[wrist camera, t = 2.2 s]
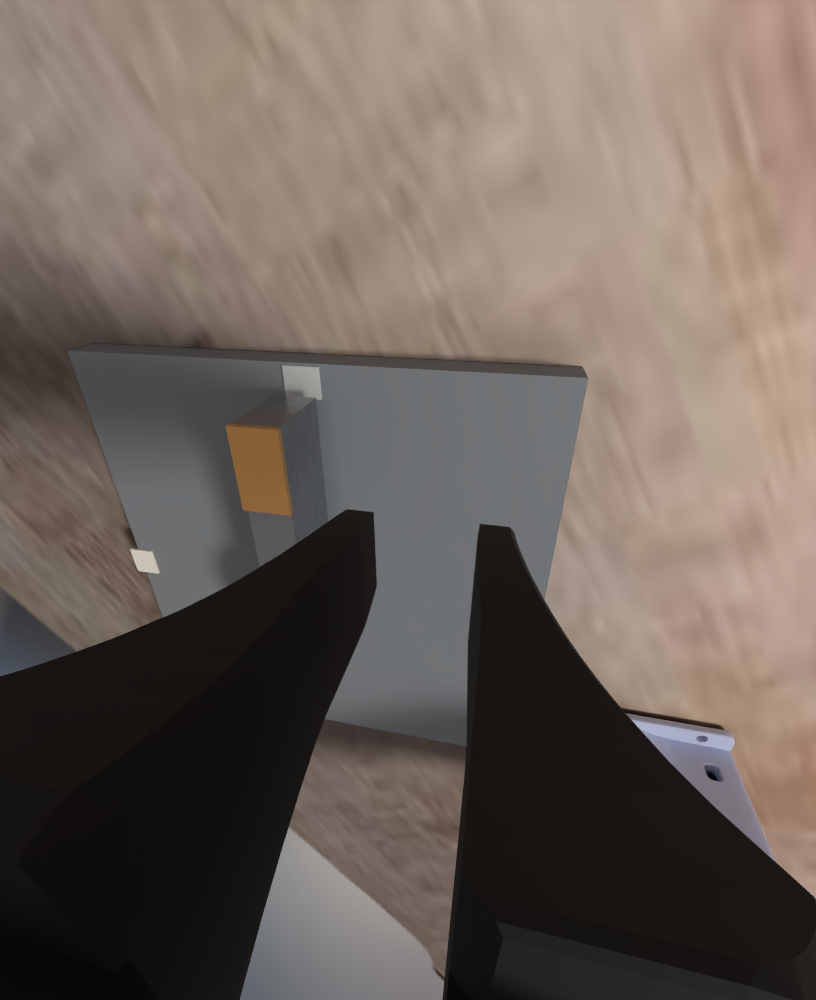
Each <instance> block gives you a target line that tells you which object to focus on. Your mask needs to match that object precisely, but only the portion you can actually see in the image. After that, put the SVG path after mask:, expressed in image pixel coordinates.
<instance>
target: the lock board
mask: <svg viewBox="0 0 816 1000" xmlns="http://www.w3.org/2000/svg"><path fill="white" fill-rule="evenodd" d="M67 353H68V355H69V358H70V361H71V364H72V367H73V369H74V372H75V375H76V378H77V380H78V383H79V386H80V389H81V391H82V394H83V397H84V400H85V403H86V405H87V408H88V411H89V414H90V416H91V419H92V422H93V425H94V428H95V430H96V433H97V436H98V439H99V441H100V444H101V447H102V450H103V452H104V455H105V458H106V461H107V464H108V466H109V469H110V472H111V475H112V477H113V480H114V483H115V486H116V488H117V491H118V494H119V497H120V500H121V502H122V505H123V508H124V511H125V513H126V516H127V519H128V522H129V524H130V527H131V530H132V533H133V536H134V538H135V541H136V544H137V547H138V549H136V548H131V549H130V550H131V553H132V556H133V558H134V561H135V564H136V566H137V569H138V571H143V572H147V574H148V577H149V580H150V583H151V585H152V588H153V591H154V594H155V597H156V599H157V602H158V605H159V608H160V610H161V613H162V616H163V617H165V616H168V615H170V614H172V613H175V612H177V611H179V610H181V609H183V608H185V607H187V606H189V605H191V604H193V603H195V602H197V601H199V600H202V599H204V598H206V597H208V596H210V595H212V594H214V593H215V592H217V591H219V590H221V589H223V588H225V587H227V586H228V585H230V584H232V583H234V582H236V581H237V580H239V579H241V578H242V577H244V576H246V575H247V574H249V573H251V572H252V571H254V570H256V569H257V568H259V562H258V557H257V552H256V547H255V542H254V538H253V533H252V528H251V523H250V518H249V513H248V511H245V510H243V508H242V503H241V498H240V493H239V489H238V484H237V479H236V474H235V469H234V465H233V460H232V455H231V450H230V446H229V441H228V436H227V431H226V425H228V424H231V423H232V422H234V421H235V420H237V419H238V418H240V417H242V416H243V415H245V414H246V413H248V412H249V411H251V410H252V409H254V408H255V407H257V406H258V405H260V404H261V403H263V402H264V401H266V400H267V399H269V398H270V397H272V396H273V395H281V396H296V397H312V398H316V405H317V415H318V425H319V434H320V444H321V454H322V464H323V474H324V484H325V493H326V503H327V513H328V521H330V520H331V519H333V518H334V517H335V516H337V515H338V514H340V513H342V512H343V511H345V510H346V509H350V510H359V511H368V512H374V529H375V552H376V576H377V587H376V591H375V594H374V598H373V602H372V605H371V609H370V612H369V615H368V618H367V622H366V625H365V628H364V630H363V632H362V635H361V637H360V639H359V642H358V644H357V646H356V649H355V651H354V653H353V656H352V658H351V660H350V662H349V665H348V667H347V669H346V671H345V674H344V676H343V678H342V680H341V683H340V685H339V687H338V690H337V692H336V694H335V696H334V699H333V701H332V703H331V705H330V708H329V710H328V712H327V715H326V717H325V719H326V720H332V721H337V722H342V723H347V724H352V725H357V726H362V727H368V728H373V729H378V730H383V731H388V732H393V733H399V734H404V735H409V736H414V737H419V738H424V739H429V740H435V741H440V742H445V743H450V744H455V745H460V746H465V747H466V745H467V665H468V634H469V624H470V613H471V602H472V591H473V581H474V570H475V559H476V548H477V539H478V532H479V526H480V524H487V525H496V526H505V527H510V528H511V529H512V530H513V531H514V533H515V537H516V540H517V543H518V546H519V549H520V551H521V554H522V556H523V558H524V561H525V563H526V565H527V567H528V570H529V572H530V574H531V576H532V578H533V580H534V582H535V583H536V585H537V587H538V589H539V591H540V593H541V595H542V597H543V599H545V594H546V589H547V584H548V579H549V574H550V569H551V564H552V559H553V554H554V549H555V544H556V539H557V533H558V528H559V523H560V518H561V513H562V508H563V503H564V498H565V493H566V488H567V483H568V478H569V473H570V468H571V463H572V458H573V453H574V448H575V443H576V437H577V432H578V427H579V422H580V417H581V412H582V407H583V402H584V397H585V392H586V387H587V382H588V377H587V375H586V373H585V371H584V369H583V367H574V366H554V365H533V364H513V363H492V362H472V361H451V360H430V359H410V358H389V357H369V356H348V355H328V354H307V353H287V352H266V351H246V350H225V349H205V348H184V347H163V346H143V345H122V344H102V343H95V344H91V345H87V346H83V347H79V348H75V349H71V350H67Z"/></svg>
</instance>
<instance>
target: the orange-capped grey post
mask: <svg viewBox="0 0 816 1000" xmlns="http://www.w3.org/2000/svg"><path fill="white" fill-rule="evenodd" d="M226 431H227V436H228V441H229V446H230V450H231V455H232V460H233V465H234V469H235V474H236V479H237V484H238V489H239V493H240V498H241V503H242V508H243V510H245V511H248V513H249V518H250V523H251V528H252V533H253V538H254V542H255V547H256V552H257V557H258V562H259V567H260V566H262V565H264V564H265V563H267V562H269V561H270V560H272V559H274V558H275V557H277V556H278V555H280V554H282V553H283V552H285V551H286V550H287V549H289V548H290V547H292V546H293V545H295V544H296V543H298V542H299V541H301V540H302V539H304V538H305V537H307V536H308V535H310V534H311V533H312V532H314V531H315V530H317V529H318V528H320V527H321V526H323V525H324V524H325V523H327V522H328V513H327V503H326V493H325V484H324V474H323V464H322V454H321V444H320V434H319V425H318V415H317V405H316V398H312V397H296V396H281V395H273V396H272V397H270V398H269V399H267V400H266V401H264V402H263V403H261V404H260V405H258V406H257V407H255V408H254V409H252V410H251V411H249V412H248V413H246V414H245V415H243V416H242V417H240V418H238V419H237V420H235V421H234V422H232V423H231V424H228V425H226Z"/></svg>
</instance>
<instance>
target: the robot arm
mask: <svg viewBox="0 0 816 1000" xmlns="http://www.w3.org/2000/svg"><path fill="white" fill-rule="evenodd" d="M376 587H377V576H376V552H375V529H374V512H368V511H359V510H350V509H346V510H345V511H343V512H342V513H340V514H338V515H337V516H335V517H334V518H333V519H331V520H330V521H328V522H327V523H325V524H324V525H323V526H321V527H320V528H318V529H317V530H315V531H314V532H312V533H311V534H310V535H308V536H307V537H305V538H304V539H302V540H301V541H299V542H298V543H296V544H295V545H293V546H292V547H290V548H289V549H287V550H286V551H285V552H283V553H282V554H280V555H278V556H277V557H275V558H274V559H272V560H270V561H269V562H267V563H265V564H264V565H262V566H260V567H259V568H257V569H256V570H254V571H252V572H251V573H249V574H247V575H246V576H244V577H242V578H241V579H239V580H237V581H236V582H234V583H232V584H230V585H228V586H227V587H225V588H223V589H221V590H219V591H217V592H215V593H214V594H212V595H210V596H208V597H206V598H204V599H202V600H199V601H197V602H195V603H193V604H191V605H189V606H187V607H185V608H183V609H181V610H179V611H177V612H175V613H172V614H170V615H168V616H165V617H163V618H161V619H158V620H156V621H153V622H151V623H149V624H146V625H144V626H142V627H139V628H137V629H135V630H132V631H130V632H128V633H125V634H123V635H121V636H118V637H115V638H113V639H110V640H108V641H105V642H102V643H99V644H97V645H94V646H91V647H89V648H86V649H83V650H81V651H78V652H75V653H72V654H69V655H66V656H63V657H60V658H57V659H55V660H51V661H49V662H46V663H43V664H39V665H37V666H33V667H30V668H27V669H24V670H21V671H17V672H14V673H11V674H7V675H4V676H0V1000H240V995H241V992H242V988H243V985H244V981H245V977H246V973H247V970H248V966H249V963H250V959H251V955H252V952H253V948H254V944H255V941H256V937H257V933H258V930H259V926H260V922H261V918H262V915H263V912H264V908H265V905H266V901H267V898H268V894H269V891H270V887H271V884H272V881H273V877H274V874H275V871H276V867H277V864H278V860H279V857H280V853H281V850H282V847H283V843H284V840H285V837H286V834H287V830H288V827H289V824H290V821H291V817H292V814H293V811H294V808H295V805H296V801H297V798H298V795H299V792H300V789H301V786H302V782H303V779H304V776H305V773H306V770H307V767H308V764H309V761H310V758H311V755H312V752H313V749H314V746H315V743H316V740H317V737H318V735H319V732H320V730H321V727H322V724H323V722H324V719H325V717H326V715H327V712H328V710H329V708H330V705H331V703H332V701H333V699H334V696H335V694H336V692H337V690H338V687H339V685H340V683H341V680H342V678H343V676H344V674H345V671H346V669H347V667H348V665H349V662H350V660H351V658H352V656H353V653H354V651H355V649H356V646H357V644H358V642H359V639H360V637H361V635H362V632H363V630H364V628H365V625H366V622H367V618H368V615H369V612H370V609H371V605H372V602H373V598H374V594H375V591H376ZM734 744H735V740H734V738H733V736H732V734H731V733H730V732H728V731H725V730H720V729H715V728H709V727H703V726H697V725H691V724H685V723H680V722H674V721H668V720H662V719H656V718H650V717H645V716H639V715H633V714H627V713H625V712H624V711H623V710H622V709H621V708H620V706H619V705H618V704H617V703H616V702H615V700H614V699H613V698H612V697H611V695H610V694H609V693H608V692H607V690H606V689H605V688H604V687H603V685H602V684H601V683H600V682H599V680H598V679H597V678H596V677H595V675H594V674H593V673H592V671H591V670H590V669H589V667H588V666H587V665H586V663H585V662H584V661H583V659H582V658H581V657H580V655H579V654H578V652H577V651H576V649H575V648H574V647H573V645H572V644H571V642H570V641H569V639H568V638H567V636H566V635H565V633H564V632H563V630H562V628H561V627H560V625H559V624H558V622H557V620H556V619H555V617H554V616H553V614H552V612H551V611H550V609H549V607H548V606H547V604H546V602H545V600H544V599H543V597H542V595H541V593H540V591H539V589H538V587H537V585H536V583H535V582H534V580H533V578H532V576H531V574H530V572H529V570H528V567H527V565H526V563H525V561H524V558H523V556H522V554H521V551H520V549H519V546H518V543H517V540H516V537H515V533H514V531H513V530H512V529H511V528H510V527H505V526H496V525H487V524H480V526H479V532H478V539H477V548H476V559H475V570H474V581H473V591H472V602H471V613H470V624H469V634H468V665H467V745H466V764H465V777H464V787H463V797H462V808H461V818H460V828H459V838H458V848H457V859H456V869H455V879H454V889H453V899H452V910H451V920H450V930H449V940H448V950H447V960H446V970H445V981H444V991H443V1000H816V899H815V898H814V897H813V896H812V895H811V894H810V893H809V892H808V891H807V890H806V889H805V888H804V887H802V886H801V885H800V884H799V883H798V882H797V881H796V880H795V879H794V878H793V877H791V876H790V875H789V874H788V873H787V872H786V871H785V870H784V869H783V868H782V867H780V866H779V865H778V864H777V863H776V861H775V859H774V856H773V854H772V851H771V849H770V847H769V844H768V842H767V839H766V837H765V834H764V832H763V830H762V827H761V825H760V822H759V820H758V818H757V815H756V813H755V810H754V808H753V806H752V803H751V801H750V798H749V796H748V793H747V791H746V789H745V786H744V784H743V781H742V779H741V777H740V774H739V772H738V769H737V767H736V764H735V762H734V760H733V757H732V755H731V752H730V750H731V749H732V747H733V745H734Z"/></svg>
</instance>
